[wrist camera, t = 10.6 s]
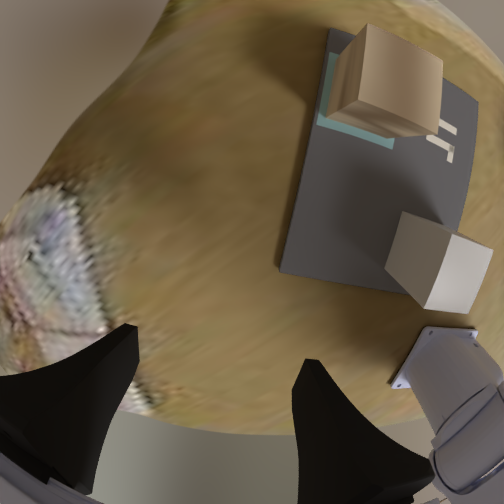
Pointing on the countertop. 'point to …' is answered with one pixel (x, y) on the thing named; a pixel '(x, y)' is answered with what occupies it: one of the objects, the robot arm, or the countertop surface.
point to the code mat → (374, 186)
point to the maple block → (386, 86)
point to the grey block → (437, 264)
